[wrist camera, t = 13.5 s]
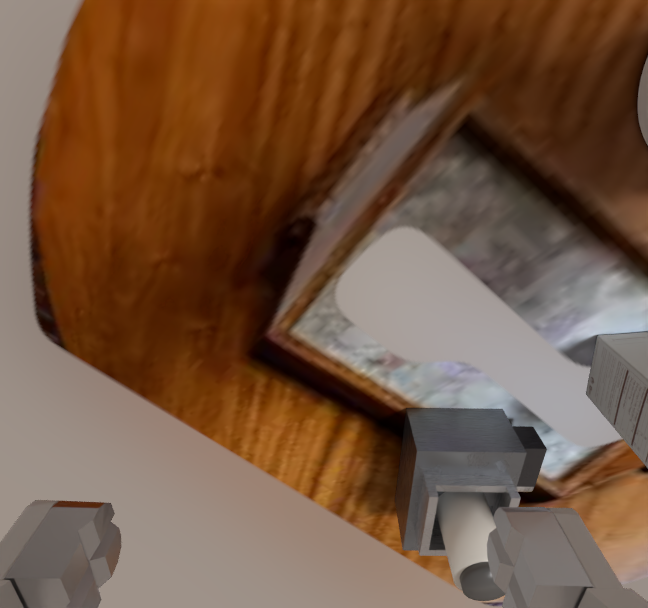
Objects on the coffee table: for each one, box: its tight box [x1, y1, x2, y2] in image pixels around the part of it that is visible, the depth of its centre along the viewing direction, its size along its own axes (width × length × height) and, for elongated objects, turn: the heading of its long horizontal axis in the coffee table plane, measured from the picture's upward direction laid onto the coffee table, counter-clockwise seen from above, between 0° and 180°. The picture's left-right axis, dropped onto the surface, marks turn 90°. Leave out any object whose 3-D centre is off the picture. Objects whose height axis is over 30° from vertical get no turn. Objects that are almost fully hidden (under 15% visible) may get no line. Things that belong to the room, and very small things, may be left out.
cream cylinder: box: [436, 492, 505, 601], centre depth 39 cm, size 5×5×8 cm
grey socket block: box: [395, 408, 547, 556], centre depth 44 cm, size 13×14×8 cm
